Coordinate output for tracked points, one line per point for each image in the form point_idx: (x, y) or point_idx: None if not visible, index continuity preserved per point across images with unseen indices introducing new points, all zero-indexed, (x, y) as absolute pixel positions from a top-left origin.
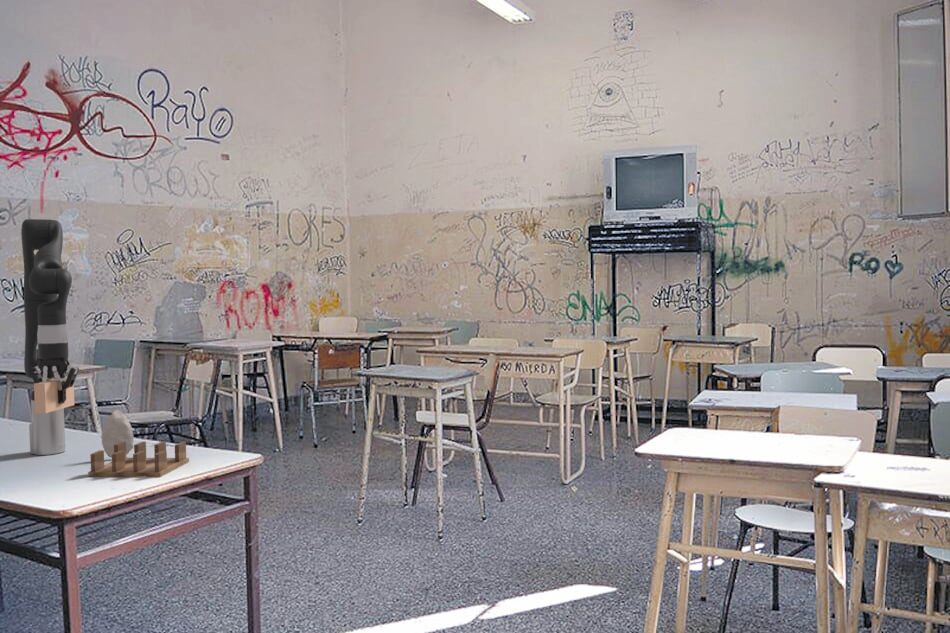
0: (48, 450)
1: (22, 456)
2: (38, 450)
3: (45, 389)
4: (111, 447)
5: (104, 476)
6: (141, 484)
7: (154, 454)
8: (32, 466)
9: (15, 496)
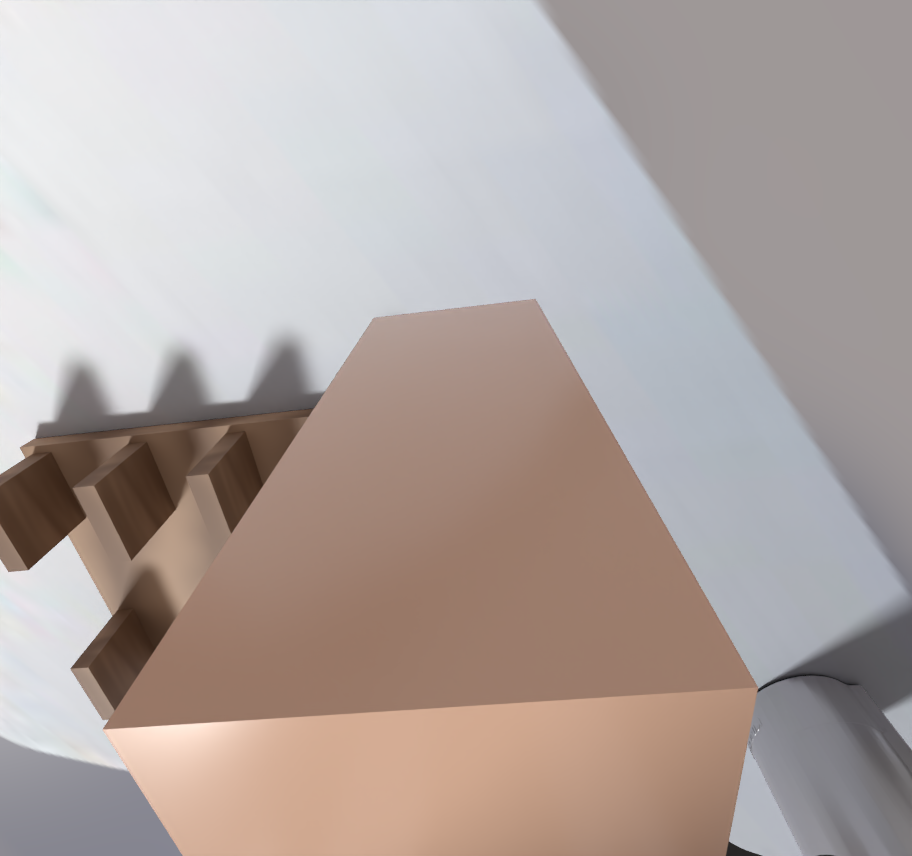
0: (785, 696)
1: (877, 656)
2: (827, 691)
3: (245, 552)
4: None
5: (282, 412)
6: None
7: None
8: (740, 528)
9: None
